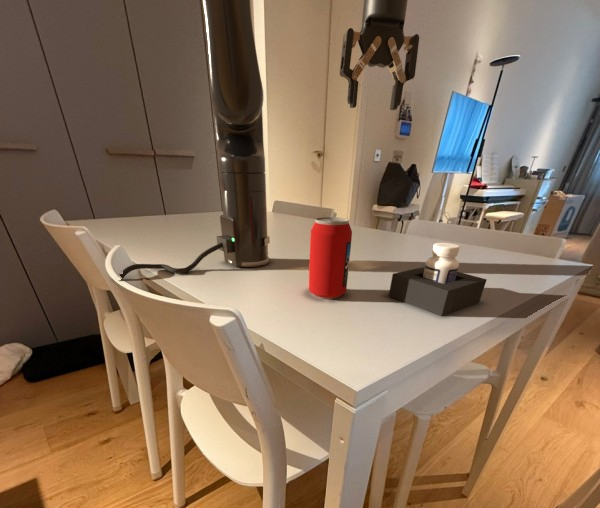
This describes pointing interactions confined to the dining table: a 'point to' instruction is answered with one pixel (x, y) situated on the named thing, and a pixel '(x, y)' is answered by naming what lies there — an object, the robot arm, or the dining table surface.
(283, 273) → the dining table surface
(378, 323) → the dining table surface
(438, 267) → the pill bottle
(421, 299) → the socket pad
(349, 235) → the beverage can
